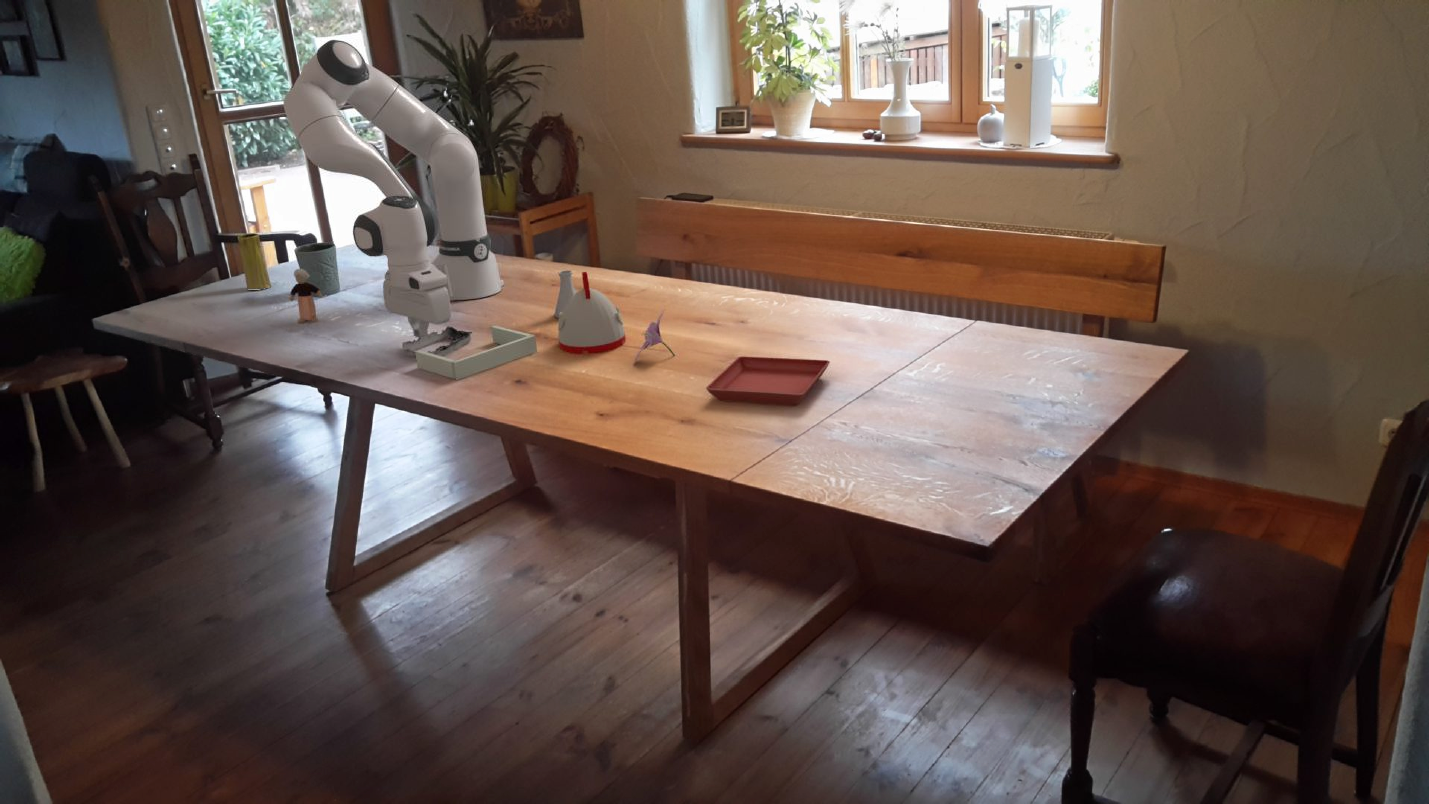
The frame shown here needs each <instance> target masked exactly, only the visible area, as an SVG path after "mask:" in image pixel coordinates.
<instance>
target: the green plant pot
mask: <svg viewBox="0 0 1429 804" xmlns="http://www.w3.org/2000/svg"><path fill="white" fill-rule="evenodd" d="M294 254H295V258H296V262H297V265H298V267H299V268H298V269H303V270H305V271H306V272H307V273H308V274H309V275H310V276H309V278H308V279H307V282H306V283H309V284H312V285H314V286H316V287H317V288H318V289H319V291H320V292H321V294H322V295H323V297H326V296H325V295H327V296H330V294H331V295H334V294H337V293H339V292H340V291H341V285H340V279H339V276H340V275H339V268H338V261H337V246H336V244H335V243H334V242H323V241H322V242H314V243H308V244H303V245H300V246H299V245H298V246H297V247H295V249H294ZM311 294H312V296H314V297H313V298H315V297H316V298H317V297H318V295H317V294H315V293H312V292H311ZM318 298H319V297H318Z"/></svg>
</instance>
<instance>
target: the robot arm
mask: <svg viewBox="0 0 1429 804" xmlns="http://www.w3.org/2000/svg"><path fill="white" fill-rule="evenodd" d="M346 104H350V106H351V107H352V108H353V109H355V111H356V112H357V113H358V114H360V115H361V116H362V117H363V118H365V120H367V121H368V122H369V123H371V124H372V125H373V126H375V128H377V129H378V130H379V131H381V132H382V133H383V134H385V135H386V136H387V137H389V138H390V139H391V140H392V141H394V142H395V143H396V144H398V145H400V146H401V147H403V148H405V149H406V151H408V152H410V153H411V154H413V155H414V156H416V157H417V158H419V159H420V160H422V161H423V162H425V163H426V164H427V165H428V166H429V167H430V171H431V178H432V185H433V191H434V199H435V204H436V210H437V215H438V216H437V215H436V213H435V212H434V210H433V209H432V207H430V206H429V205H428V204H427V203H426V202H425V201H424V200H423V199H421V198H420V196H419V195H418V194H416V192H415V191H414V190H413V188H412V187H411V186H410V184H409V183H408V182H407V181H406V179H405V178H404V177H403V176H402V175H401V173H400V171H398V169H397V168H396V166H394V164H393V163H392V162H391V161H390V160H389V158H388V156H386V155H385V153H384V152H383V151H382V150H381V149H380V148H379V147H378V146H376V145H374V144H373V143H371V142H370V141H369V142H368V141H367V140H365V139H364V138H363V137H362V136H361V135H359V133H357V132H356V131H355V130H354V129H353V128H352V126H350V124H349V123H348V121H347V120H346V118H345V116H344V115H343V113H342V112H341V109H342V108H343V107H344V105H346ZM283 109H284V113H285V116H286V118H287V121H288V124H289V125H290V128H291V130H292V132H293V134H294V137H295V138H296V141H297V142H298V144H299V145H300V147H301V149H302V151H303V153H304V155H305V156H306V157H307V159H309V160H310V161H311V163H312V164H313V165H314V166H316V167H318V168H319V169H322V170H324V171H327V172H330V173H338V174H345V175H352V176H357V177H361V178H363V179H367V180H369V181H370V182H372V183H373V184H375V185H376V187H377V188H378V190H380V191H381V193H382V195H384V197H385V198H383V199H382V200H381V201H380V203H379V205H378V206H377V207H376V208H373V209H371V210H369V211H367V212H363V213H361V214H359V215H358V216H357V217H356V218H355V221H354V224H353V227H352V236H353V240H354V244H355V245H356V247H357V249H358V250H359V251H360V252H361V253H363V254H364V255H366V256H368V257H372V258H373V257H382V256H385V257H386V258H387V268H388V270H386V272H385V274H384V280H383V283H382V289H383V290H382V292H383V302H384V303H383V304H384V306H385V309H386V310H387V312H389V313H393V314H397V315H399V316H403V317H407V322H408V323H409V325H410V327H411V329H412V333H413V337H415V338H419V337H421V336H427V335H428V334H429V333H428V332H429V331H428V329H429V325H430V324H432V325H438V326H439V325H442V324H445V323H448V322H449V321H450V319H451V316H452V311H451V310H452V308H451V301H462V300H465V301H466V300H475V299H481V298H485V297H490V296H493V295H495V294H497V293H499V292H500V291H501V290H502V289H503V288H502V286H504V285H505V282H504V280H503V279H501V277H500V274H499V273H500V272H499V269H498V263H497V260H496V256H495V253H493V252H492V251H491V248H492V244H491V242H492V241H491V238H490V234H489V233H488V231H487V224H486V216H485V208H484V202H483V191H482V183H481V174H480V166H479V165H480V164H479V158H478V154H477V151H476V149H475V147H474V145H473V143H472V141H471V140H470V138H468V137H467V135H466V134H464V133H462V132H461V131H460V130H459V129H457V128H456V127H455V126H453V125H452V124H451V123H450V122H448V121H447V120H445V119H444V118H443V117H441V116H440V115H439V114H438V113H436V112H435V111H434V110H432V109H431V108H429V107H428V106H427V105H425V104H424V103H423V102H422V101H420V100H419V99H418V98H417V97H415V96H414V95H413V94H411V93H410V92H409V91H408V90H406V89H405V88H404V87H403V86H402V85H401V84H400V83H398V82H396V81H395V79H392V78H391V77H390V76H388V74H385V73H384V72H383V71H381V70H379V69H377V68H376V67H374V66H372V65H370V64H368V63H367V62H366V61H365V59H364V56H363V55H362V54H361V53H360V51H359V50H358V49H357V48H356V47H355V46H353V45H352V44H351V43H348V42H346V41H343V40H339V39H338V40H337V39H331V40H329V41H327V42H325V43H324V44H322V45H321V46H320V47H319V48H318V49H317V50H316V53H315V54H314V55H313V56H312V57H311V58H310V59H309V60H308V61H307V63H306V64H305V65H304V66H303V67H302V70H301V73H300V74H299V75H298V77H297V79H296V80H295V82H294V84H293V85H292V86H291V88H290V89H289V90H288V91H287V93H286V94H285V96H284V98H283ZM438 230H440V236H441V238H440V239H437V240H435V239H436V237H437V234H438ZM434 240H435V242H438V243H436V246H439V248H438V253H439V254H438V255H437V256H436V257H435V258H434V259H433V261H432V260H431V259H432V258H431V256H430V253H429V251H428V250H429V249H428V247H430V246H431V244H433V242H434Z"/></svg>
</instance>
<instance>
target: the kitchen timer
mask: <svg viewBox="0 0 1429 804" xmlns="http://www.w3.org/2000/svg"><path fill="white" fill-rule="evenodd" d="M588 275H589V274H588V273H587V271H582V272H581V276H582V285H583V288H582V289H580V290H578V291H576V294H574V295H573V296H572V298H571V299H570V300H569V302H568V303H567V305H566V307H565V309H564V311H563V313H562V312H560V313H559V317H558V327H557V331H558V337H557V339H558V347H560V348H559V349H560V351H562V350H563V352H565V353H568V354H572V353H573V354H572V355H593V354H601V353H607V352H611V351H613V350H616V349H618V348H620V347H622V346H624V344H625V343H626V340H627V339H626V338H627V337H626V331H625V327H624V322H623V321H624V320H623V317H622V315H621V311H620V309H619V306H617V305H615V306H614V304H613V303H612V302H611V300H610V299H609V298H608V297H607V296H606V295H605V294H603V293H602V292H601V291H600V290H597V289H594V288H591V287H590V283H589V277H588Z"/></svg>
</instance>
